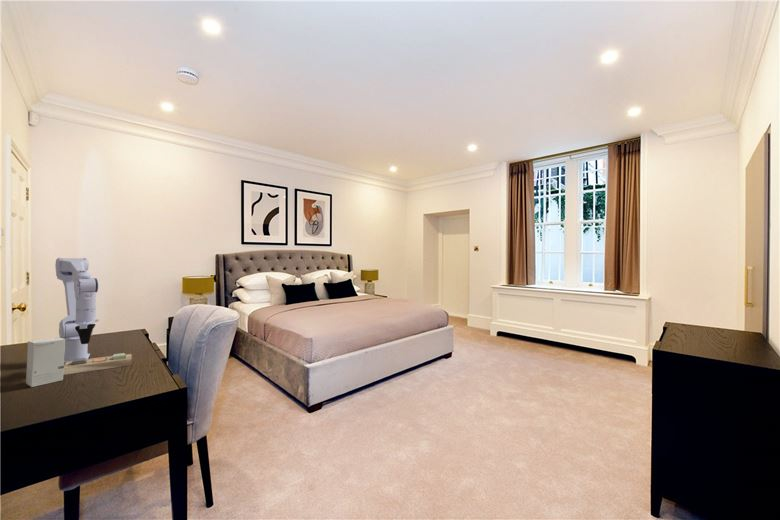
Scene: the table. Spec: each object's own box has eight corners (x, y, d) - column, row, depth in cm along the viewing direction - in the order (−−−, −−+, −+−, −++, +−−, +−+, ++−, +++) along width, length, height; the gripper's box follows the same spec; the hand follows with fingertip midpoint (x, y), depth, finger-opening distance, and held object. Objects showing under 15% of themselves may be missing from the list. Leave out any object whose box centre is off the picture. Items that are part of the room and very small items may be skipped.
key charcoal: (73, 364, 128) (73, 359, 128) (85, 363, 130) (85, 357, 130) (71, 367, 125) (71, 361, 125) (84, 365, 127) (84, 360, 127)
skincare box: (31, 387, 110) (31, 343, 110) (25, 383, 113) (25, 340, 113) (65, 380, 117) (65, 338, 117) (58, 376, 120) (59, 335, 120)
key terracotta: (93, 364, 132) (93, 359, 131) (105, 363, 134) (105, 357, 134) (92, 367, 129) (93, 361, 129) (105, 365, 131) (105, 360, 131)
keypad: (66, 368, 129) (66, 361, 129) (131, 359, 141) (131, 353, 141) (62, 375, 122) (62, 368, 122) (131, 365, 134) (131, 359, 134)
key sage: (113, 359, 135) (113, 354, 135) (124, 358, 137) (124, 352, 137) (112, 362, 132) (113, 356, 132) (124, 360, 135) (124, 355, 135)
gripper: (97, 311, 126) (97, 346, 127) (100, 305, 138) (100, 338, 138) (72, 312, 122) (71, 349, 122) (77, 307, 134) (77, 340, 134)
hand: (85, 343), depth 130 cm, fingers closed
